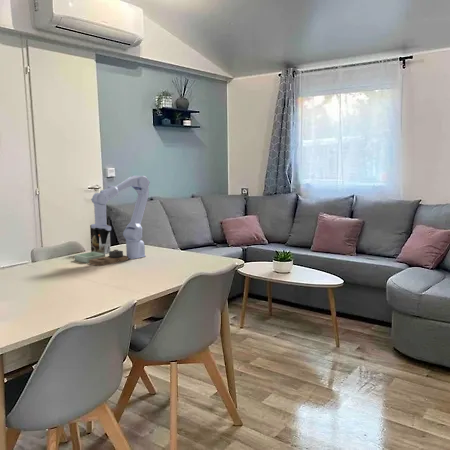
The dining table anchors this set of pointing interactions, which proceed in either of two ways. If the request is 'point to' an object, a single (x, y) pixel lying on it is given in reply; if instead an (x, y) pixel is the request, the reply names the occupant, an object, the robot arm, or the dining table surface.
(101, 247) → the lock pin
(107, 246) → the coffee box
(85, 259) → the tray
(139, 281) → the dining table surface
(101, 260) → the tensioner board
